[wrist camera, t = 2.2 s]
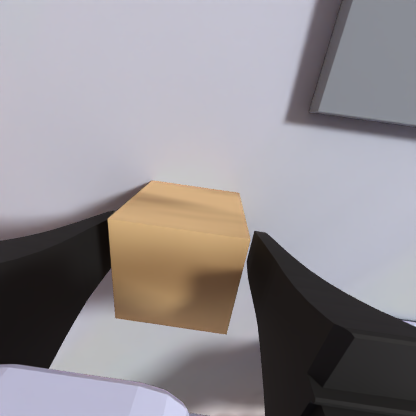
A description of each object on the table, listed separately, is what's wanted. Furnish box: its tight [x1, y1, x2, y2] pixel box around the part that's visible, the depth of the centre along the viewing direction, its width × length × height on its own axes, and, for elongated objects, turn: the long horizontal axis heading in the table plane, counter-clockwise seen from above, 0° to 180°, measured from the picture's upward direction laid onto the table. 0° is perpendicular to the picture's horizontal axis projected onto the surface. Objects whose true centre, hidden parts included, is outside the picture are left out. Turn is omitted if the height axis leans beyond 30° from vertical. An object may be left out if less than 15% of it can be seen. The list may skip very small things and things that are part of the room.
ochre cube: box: [108, 181, 250, 334], centre depth 10 cm, size 5×5×5 cm
